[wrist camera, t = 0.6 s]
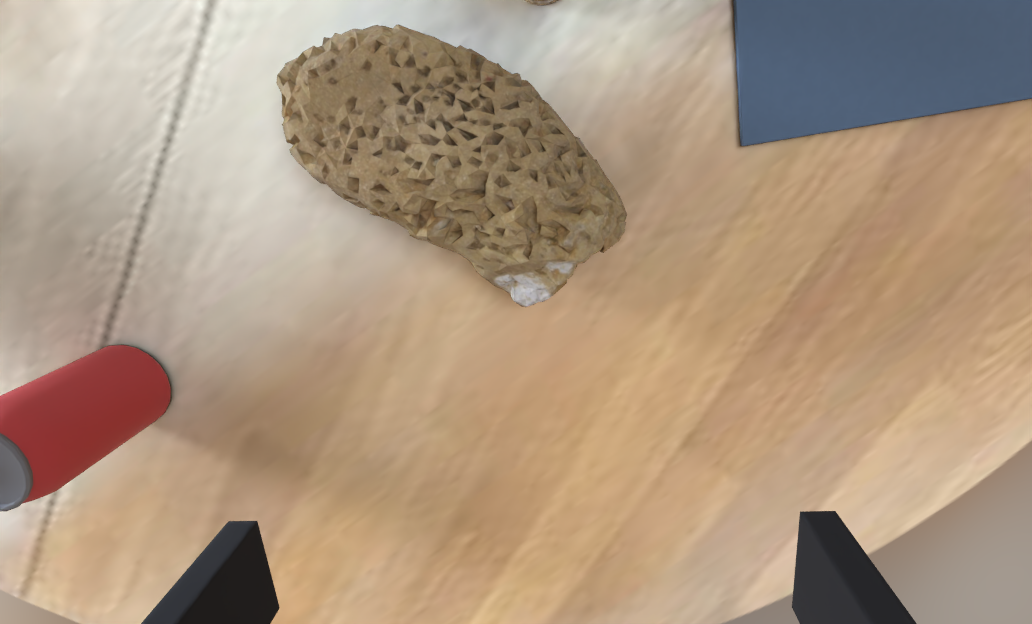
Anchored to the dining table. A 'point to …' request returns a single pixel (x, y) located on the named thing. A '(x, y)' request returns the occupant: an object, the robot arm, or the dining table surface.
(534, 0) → the sprinkles bottle
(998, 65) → the mat
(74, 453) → the beer can
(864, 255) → the dining table surface
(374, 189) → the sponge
